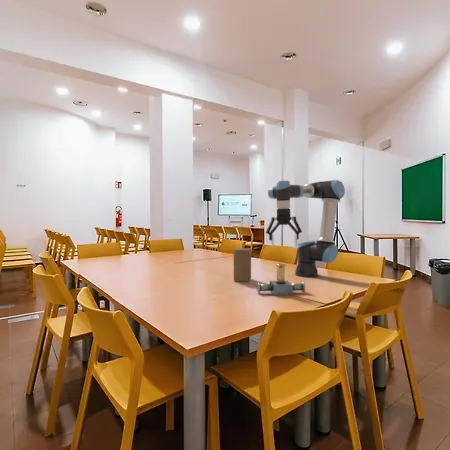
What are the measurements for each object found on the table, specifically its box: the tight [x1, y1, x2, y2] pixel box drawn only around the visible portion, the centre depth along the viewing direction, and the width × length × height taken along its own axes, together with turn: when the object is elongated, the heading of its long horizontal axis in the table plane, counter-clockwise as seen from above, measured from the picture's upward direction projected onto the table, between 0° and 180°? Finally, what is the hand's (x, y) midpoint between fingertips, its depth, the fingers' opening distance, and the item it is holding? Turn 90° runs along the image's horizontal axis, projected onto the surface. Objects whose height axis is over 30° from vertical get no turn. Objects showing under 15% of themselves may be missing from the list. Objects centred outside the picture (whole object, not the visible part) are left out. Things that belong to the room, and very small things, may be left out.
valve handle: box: [275, 263, 286, 284], centre depth 165 cm, size 5×5×14 cm
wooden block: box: [233, 247, 252, 283], centre depth 197 cm, size 10×10×20 cm
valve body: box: [256, 280, 306, 297], centre depth 165 cm, size 25×10×6 cm, turn 93°
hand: (284, 245), depth 176 cm, fingers open, 13 cm apart
